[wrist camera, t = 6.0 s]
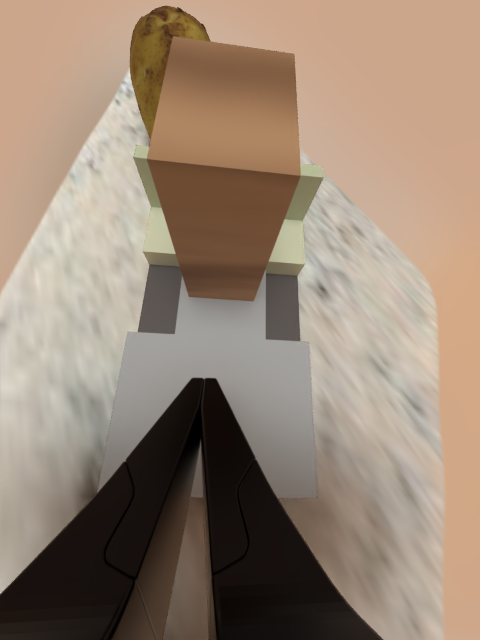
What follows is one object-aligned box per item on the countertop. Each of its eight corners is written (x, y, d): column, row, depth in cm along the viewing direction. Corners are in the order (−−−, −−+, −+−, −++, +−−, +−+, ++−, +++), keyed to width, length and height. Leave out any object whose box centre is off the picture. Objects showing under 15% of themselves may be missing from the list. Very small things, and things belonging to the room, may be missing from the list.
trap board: (305, 485, 15) (357, 540, 9) (112, 483, 14) (42, 542, 9) (294, 227, 21) (322, 165, 16) (159, 214, 20) (136, 145, 15)
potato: (144, 213, 20) (100, 105, 13) (148, 110, 24) (116, -20, 16) (240, 212, 21) (252, 111, 14) (229, 114, 25) (234, -9, 17)
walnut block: (253, 301, 17) (300, 175, 7) (188, 296, 16) (146, 159, 7) (255, 230, 18) (294, 53, 9) (197, 225, 18) (172, 35, 9)
